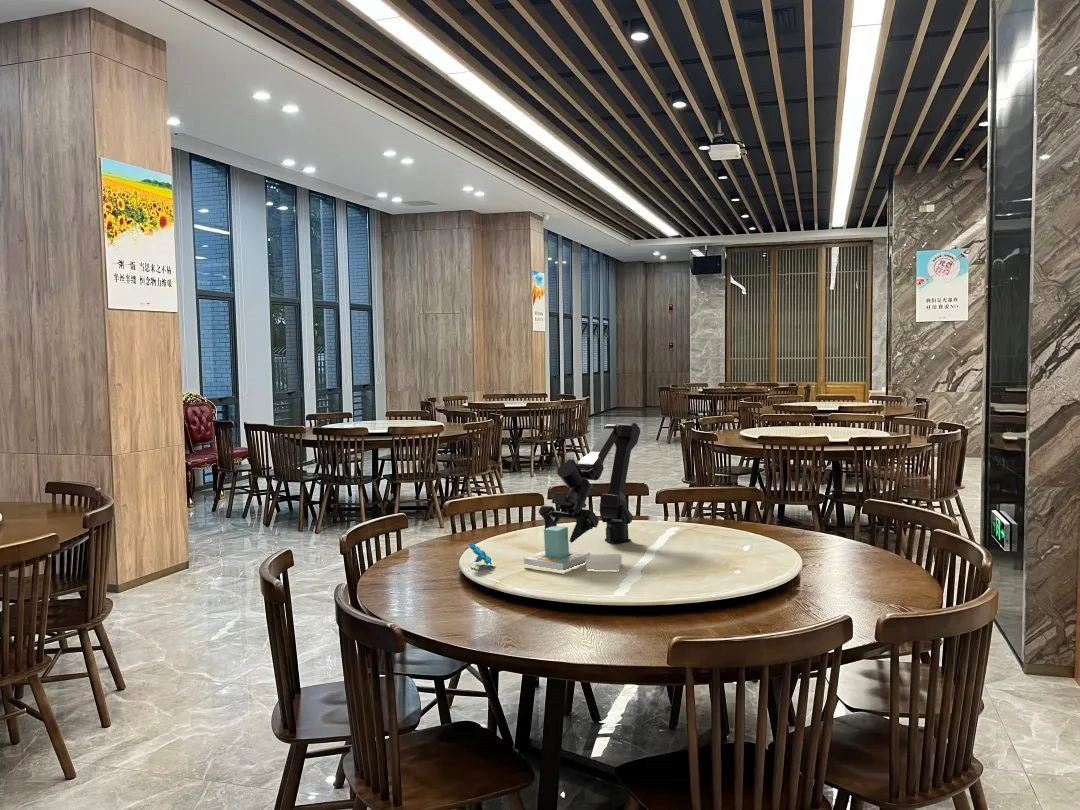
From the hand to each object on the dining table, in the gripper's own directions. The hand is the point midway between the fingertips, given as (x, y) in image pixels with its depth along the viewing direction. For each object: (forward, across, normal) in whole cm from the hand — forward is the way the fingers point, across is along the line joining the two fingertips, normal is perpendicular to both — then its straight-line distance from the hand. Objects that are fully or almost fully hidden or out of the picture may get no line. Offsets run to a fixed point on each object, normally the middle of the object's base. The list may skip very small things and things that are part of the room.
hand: (557, 540), depth 260 cm
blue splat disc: (+14, -19, -3) cm, 24 cm away
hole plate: (+6, 0, +5) cm, 7 cm away
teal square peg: (+6, 0, +5) cm, 7 cm away
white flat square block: (+3, +14, +7) cm, 16 cm away
